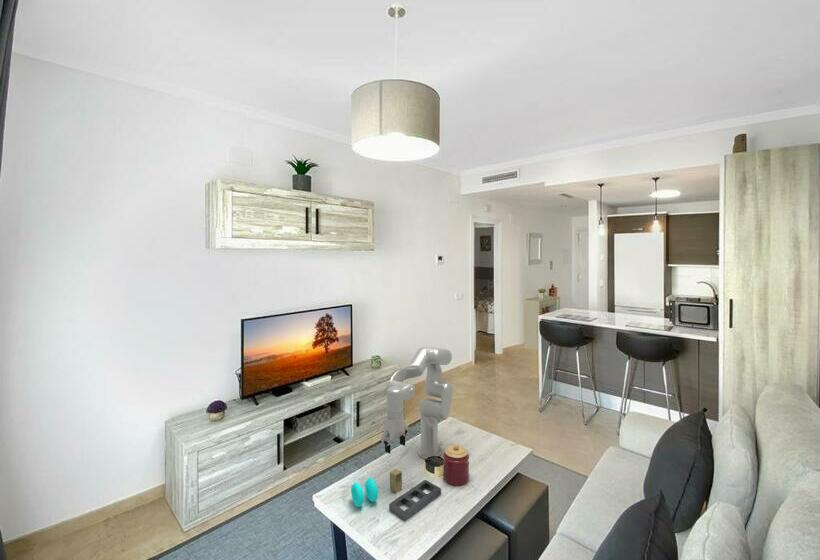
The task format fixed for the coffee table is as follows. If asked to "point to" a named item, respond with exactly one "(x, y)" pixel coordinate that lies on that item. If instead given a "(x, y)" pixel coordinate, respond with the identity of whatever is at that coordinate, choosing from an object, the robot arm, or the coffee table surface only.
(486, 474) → the coffee table surface
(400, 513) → the grey flat slotted block
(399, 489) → the brass peg
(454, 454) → the canister
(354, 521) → the coffee table surface
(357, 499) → the donuts
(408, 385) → the robot arm
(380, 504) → the coffee table surface
